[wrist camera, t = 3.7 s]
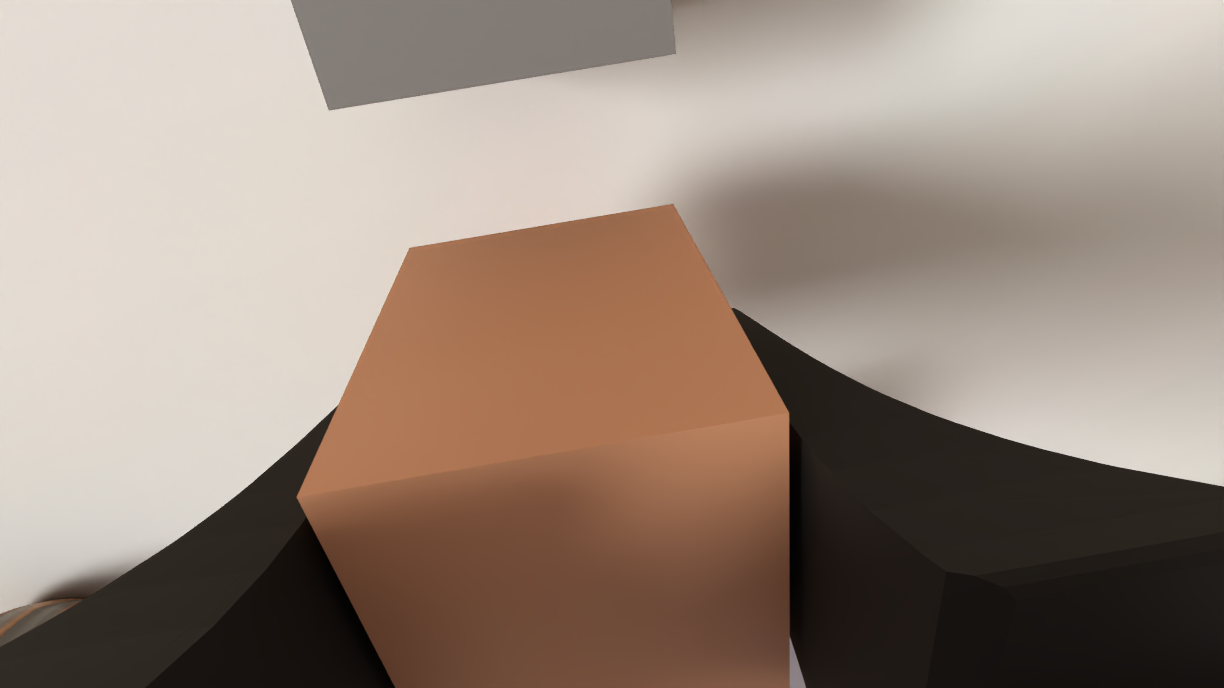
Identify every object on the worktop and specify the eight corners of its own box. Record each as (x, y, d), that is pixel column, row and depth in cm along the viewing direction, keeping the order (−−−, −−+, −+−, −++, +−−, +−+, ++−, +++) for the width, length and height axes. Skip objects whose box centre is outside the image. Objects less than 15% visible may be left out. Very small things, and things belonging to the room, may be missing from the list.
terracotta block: (693, 415, 13) (789, 699, 8) (474, 453, 13) (433, 762, 8) (673, 203, 11) (788, 412, 6) (409, 248, 11) (297, 497, 6)
